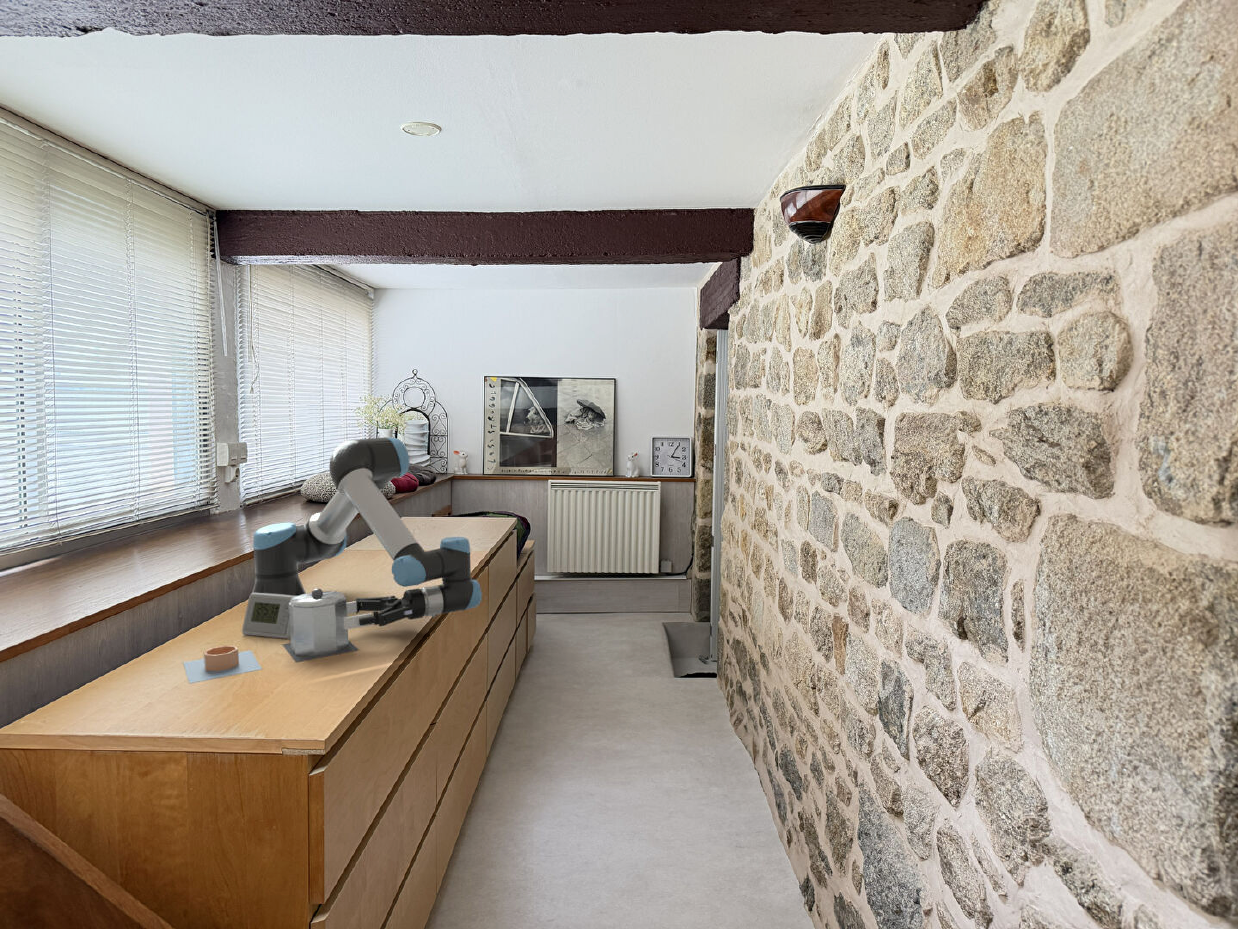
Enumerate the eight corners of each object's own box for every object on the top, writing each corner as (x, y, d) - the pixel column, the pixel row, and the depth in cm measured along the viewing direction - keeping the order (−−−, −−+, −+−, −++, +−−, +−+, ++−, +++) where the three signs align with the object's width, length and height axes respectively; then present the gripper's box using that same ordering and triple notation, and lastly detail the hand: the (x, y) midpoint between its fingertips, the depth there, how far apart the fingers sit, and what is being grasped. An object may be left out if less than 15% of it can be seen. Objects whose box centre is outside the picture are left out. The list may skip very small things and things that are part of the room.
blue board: (183, 665, 171) (183, 662, 171) (250, 652, 179) (250, 650, 178) (189, 686, 158) (189, 683, 157) (262, 671, 165) (262, 669, 165)
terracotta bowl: (203, 664, 169) (202, 649, 169) (236, 658, 173) (235, 643, 172) (206, 673, 163) (205, 657, 163) (240, 666, 167) (239, 651, 167)
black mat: (282, 646, 182) (282, 644, 182) (341, 635, 190) (341, 633, 190) (296, 665, 169) (295, 662, 169) (359, 652, 177) (359, 650, 177)
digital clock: (238, 636, 192) (236, 595, 191) (270, 627, 200) (268, 587, 199) (278, 645, 184) (275, 603, 183) (310, 635, 191) (307, 594, 191)
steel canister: (288, 645, 181) (284, 587, 180) (339, 636, 188) (336, 580, 187) (298, 659, 171) (295, 597, 170) (352, 648, 178) (349, 589, 177)
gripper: (440, 628, 183) (351, 645, 171) (406, 606, 204) (324, 620, 191) (439, 598, 182) (350, 613, 170) (405, 579, 203) (323, 592, 191)
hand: (336, 617), depth 181 cm, fingers open, 13 cm apart
